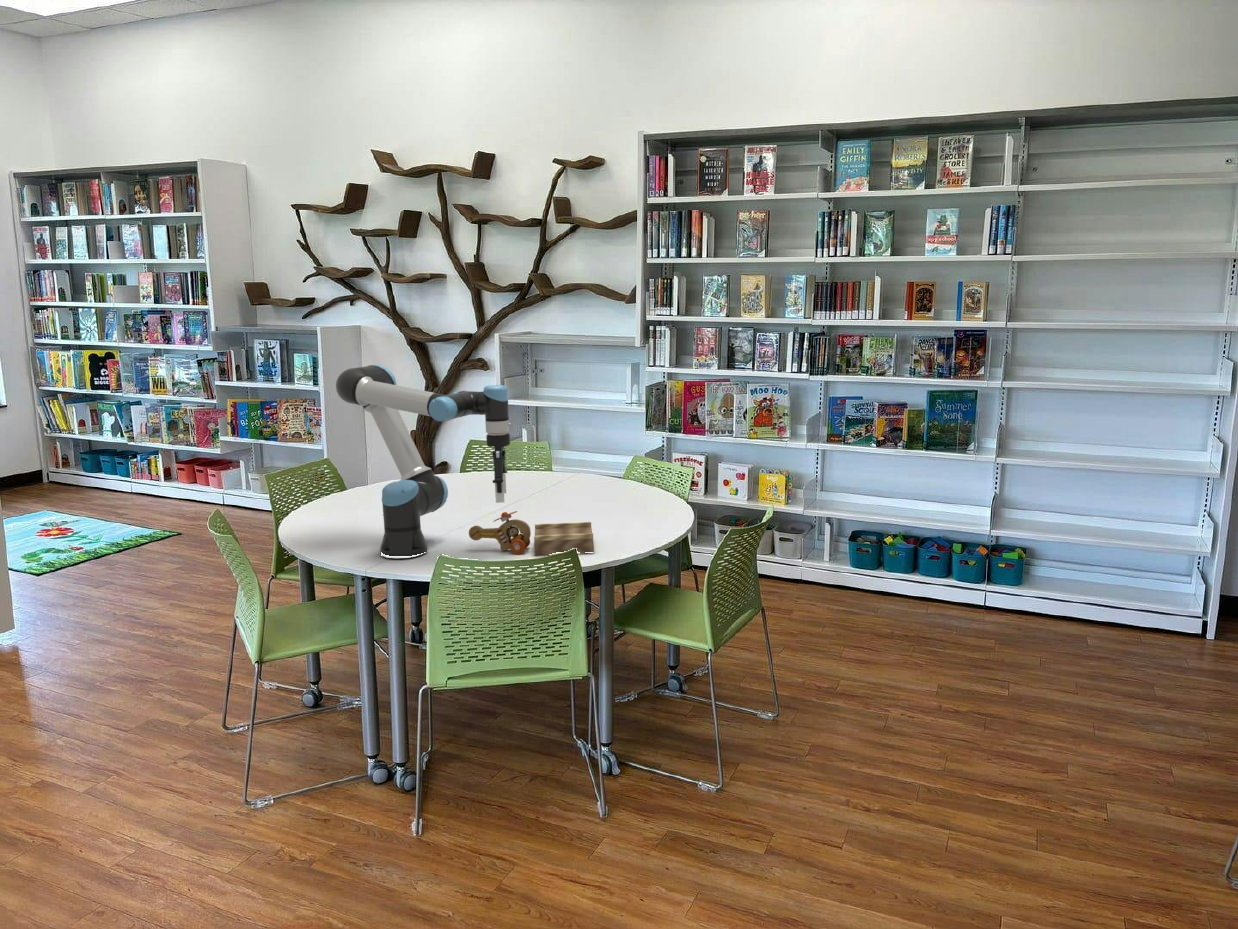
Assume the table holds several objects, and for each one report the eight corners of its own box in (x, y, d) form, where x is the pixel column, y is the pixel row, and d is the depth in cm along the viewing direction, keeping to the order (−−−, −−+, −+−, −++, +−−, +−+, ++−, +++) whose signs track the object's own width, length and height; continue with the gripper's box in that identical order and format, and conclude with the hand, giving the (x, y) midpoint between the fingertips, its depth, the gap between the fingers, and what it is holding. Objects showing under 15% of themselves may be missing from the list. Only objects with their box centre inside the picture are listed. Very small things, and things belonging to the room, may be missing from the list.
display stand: (534, 556, 302) (534, 536, 301) (535, 542, 318) (534, 524, 317) (593, 553, 304) (593, 534, 302) (591, 540, 319) (591, 521, 318)
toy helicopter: (527, 554, 304) (525, 513, 301) (466, 553, 307) (463, 512, 305) (534, 547, 312) (532, 507, 309) (474, 546, 315) (471, 506, 313)
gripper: (507, 438, 290) (511, 505, 294) (511, 427, 315) (514, 489, 319) (483, 439, 290) (487, 506, 294) (488, 428, 314) (491, 490, 318)
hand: (501, 497), depth 306 cm, fingers open, 13 cm apart
